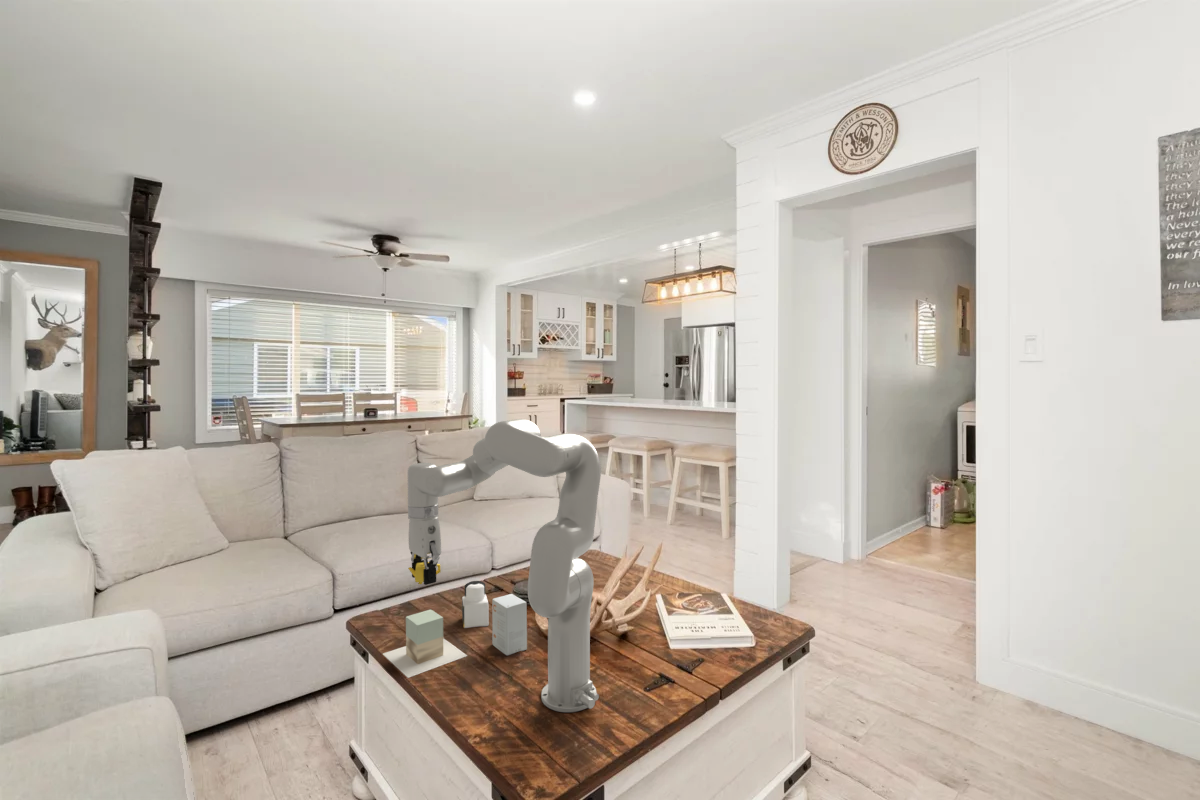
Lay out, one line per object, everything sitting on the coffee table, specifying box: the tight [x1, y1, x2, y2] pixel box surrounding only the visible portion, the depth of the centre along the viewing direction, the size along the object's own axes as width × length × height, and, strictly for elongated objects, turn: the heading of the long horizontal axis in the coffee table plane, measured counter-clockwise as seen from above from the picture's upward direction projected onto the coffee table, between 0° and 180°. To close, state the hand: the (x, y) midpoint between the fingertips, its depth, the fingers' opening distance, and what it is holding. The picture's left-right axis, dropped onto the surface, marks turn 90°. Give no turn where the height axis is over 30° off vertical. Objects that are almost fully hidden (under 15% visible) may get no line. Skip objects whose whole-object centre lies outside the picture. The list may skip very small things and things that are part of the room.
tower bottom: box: [405, 635, 444, 664], centre depth 146 cm, size 7×7×5 cm
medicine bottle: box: [461, 580, 490, 629], centre depth 166 cm, size 7×7×12 cm
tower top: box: [405, 609, 444, 645], centre depth 146 cm, size 7×7×5 cm
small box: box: [491, 593, 528, 656], centre depth 150 cm, size 8×6×13 cm
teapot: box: [408, 561, 442, 585], centre depth 145 cm, size 8×6×5 cm
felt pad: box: [382, 637, 468, 679], centre depth 146 cm, size 16×16×1 cm
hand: (424, 579), depth 145 cm, fingers closed on teapot, 6 cm apart
